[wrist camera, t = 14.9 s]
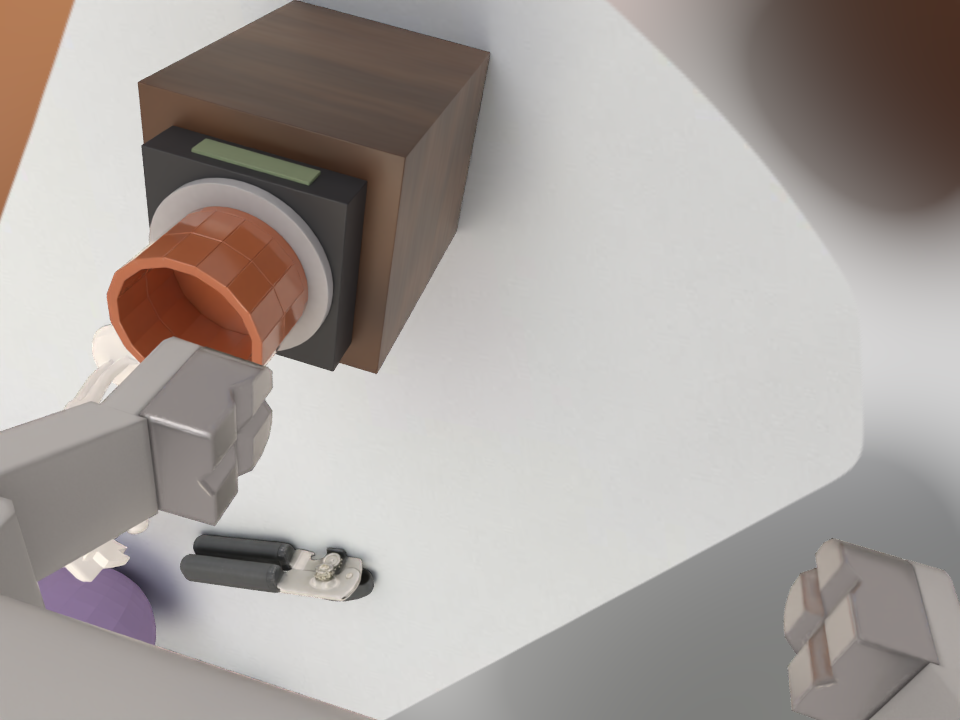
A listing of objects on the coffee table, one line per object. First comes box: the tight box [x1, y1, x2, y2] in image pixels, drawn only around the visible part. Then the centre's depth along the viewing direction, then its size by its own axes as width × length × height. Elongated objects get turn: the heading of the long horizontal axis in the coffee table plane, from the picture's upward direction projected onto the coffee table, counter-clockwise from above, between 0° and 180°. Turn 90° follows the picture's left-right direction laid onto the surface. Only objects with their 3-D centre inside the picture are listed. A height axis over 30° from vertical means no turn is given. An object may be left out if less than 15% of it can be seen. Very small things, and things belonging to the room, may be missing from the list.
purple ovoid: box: [38, 567, 156, 645], centre depth 81 cm, size 17×17×20 cm
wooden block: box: [138, 0, 490, 374], centre depth 42 cm, size 12×12×16 cm
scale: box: [142, 126, 367, 371], centre depth 35 cm, size 9×9×3 cm
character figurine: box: [64, 519, 149, 582], centre depth 71 cm, size 9×10×12 cm
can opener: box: [180, 535, 374, 601], centre depth 77 cm, size 19×6×5 cm, turn 94°
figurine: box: [64, 325, 140, 410], centre depth 62 cm, size 7×7×12 cm
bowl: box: [107, 206, 308, 366], centre depth 32 cm, size 6×6×4 cm
